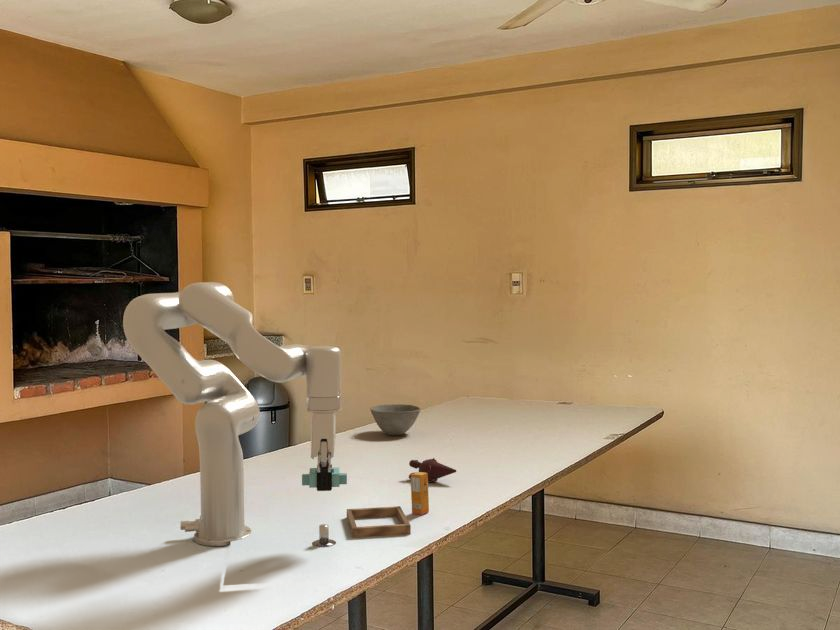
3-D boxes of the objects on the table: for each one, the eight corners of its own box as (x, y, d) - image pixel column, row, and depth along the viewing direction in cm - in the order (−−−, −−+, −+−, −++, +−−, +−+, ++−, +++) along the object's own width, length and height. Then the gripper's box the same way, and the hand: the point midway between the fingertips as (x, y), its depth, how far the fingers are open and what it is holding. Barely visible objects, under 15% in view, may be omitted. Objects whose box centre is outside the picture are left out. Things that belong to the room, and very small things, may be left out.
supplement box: (417, 510, 201) (417, 470, 201) (429, 512, 199) (429, 472, 199) (410, 513, 198) (410, 473, 198) (421, 515, 196) (421, 475, 196)
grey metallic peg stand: (312, 552, 171) (312, 530, 170) (311, 544, 176) (311, 522, 175) (336, 550, 171) (336, 528, 171) (335, 542, 177) (334, 521, 176)
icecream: (461, 459, 229) (415, 458, 236) (451, 457, 223) (403, 457, 230) (461, 483, 228) (414, 482, 234) (450, 483, 221) (402, 481, 228)
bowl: (420, 439, 288) (420, 411, 288) (368, 439, 288) (368, 411, 288) (421, 429, 307) (421, 403, 306) (372, 429, 307) (372, 403, 307)
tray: (352, 541, 177) (352, 528, 177) (346, 521, 192) (346, 509, 192) (410, 538, 180) (410, 525, 179) (400, 518, 194) (400, 506, 194)
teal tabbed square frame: (301, 487, 170) (301, 474, 170) (302, 481, 176) (302, 468, 175) (347, 486, 171) (346, 473, 171) (346, 479, 177) (346, 467, 176)
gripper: (307, 397, 180) (308, 477, 181) (305, 410, 163) (305, 498, 164) (340, 397, 181) (341, 476, 182) (341, 410, 164) (342, 497, 165)
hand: (324, 485), depth 173 cm, fingers closed on teal tabbed square frame, 5 cm apart
